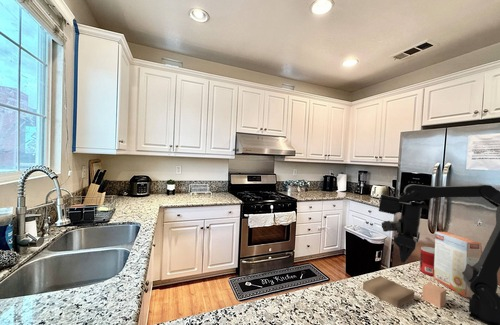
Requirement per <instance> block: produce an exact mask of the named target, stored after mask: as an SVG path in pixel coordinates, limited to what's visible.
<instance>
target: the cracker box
mask: <svg viewBox="0 0 500 325" xmlns="http://www.w3.org/2000/svg"><path fill="white" fill-rule="evenodd" d="M434 235H435V237H434V238H435V240H434V248H435V258H434V277H433V279H434V280H435V281H438V282H439V283H441V284H442V285H444V286H445V287H447V288H449V289H450V290H452V291H453V292H456V293H457V294H458V295H461V296H463V298H469V299H471V298H472V295H473V294H474V293H473V292H472V291H471V289H470V288H469V287H468V286H467V284H466V283H465V281H464V279H463V276H464V275H463V274H462V272H464V270H465V268H466V265H467V264H469V265H471V266H473V265H475V264H476V263H477V262H478V261H479V259H480V257H481V254H482V246H483V244H482V243H481V242H478V241H476V240H473V239H470V238H466V237H463V236H460V235H457V234H454V233H451V232H447V231H435V234H434Z"/></svg>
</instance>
